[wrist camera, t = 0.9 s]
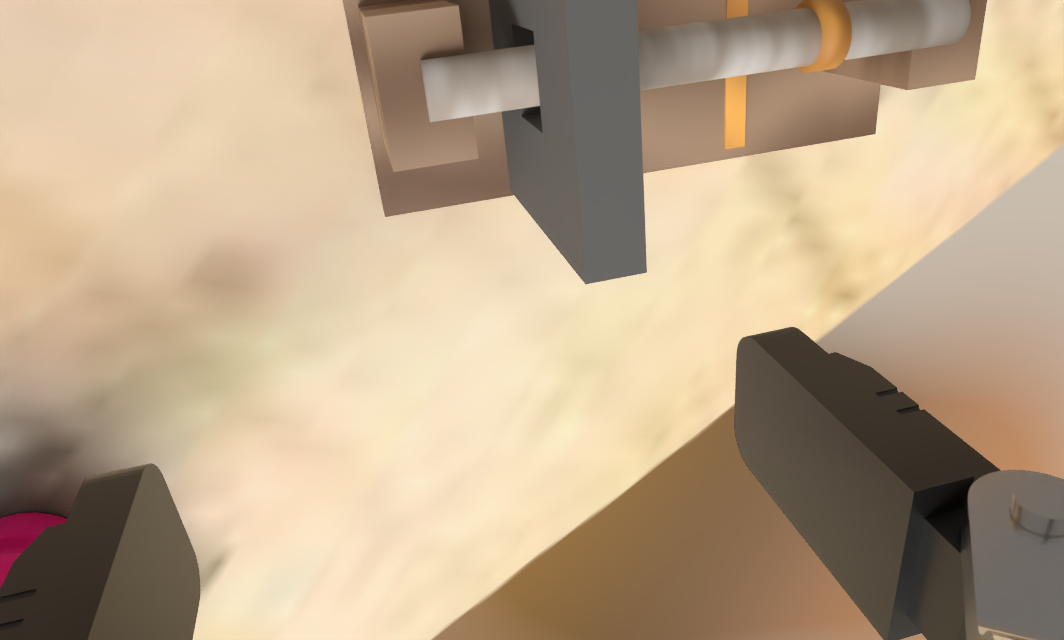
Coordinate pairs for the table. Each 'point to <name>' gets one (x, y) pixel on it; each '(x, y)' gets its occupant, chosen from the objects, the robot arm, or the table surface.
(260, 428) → the table surface
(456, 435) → the table surface
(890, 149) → the table surface
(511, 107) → the rod stand
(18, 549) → the pepper mill
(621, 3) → the collar
